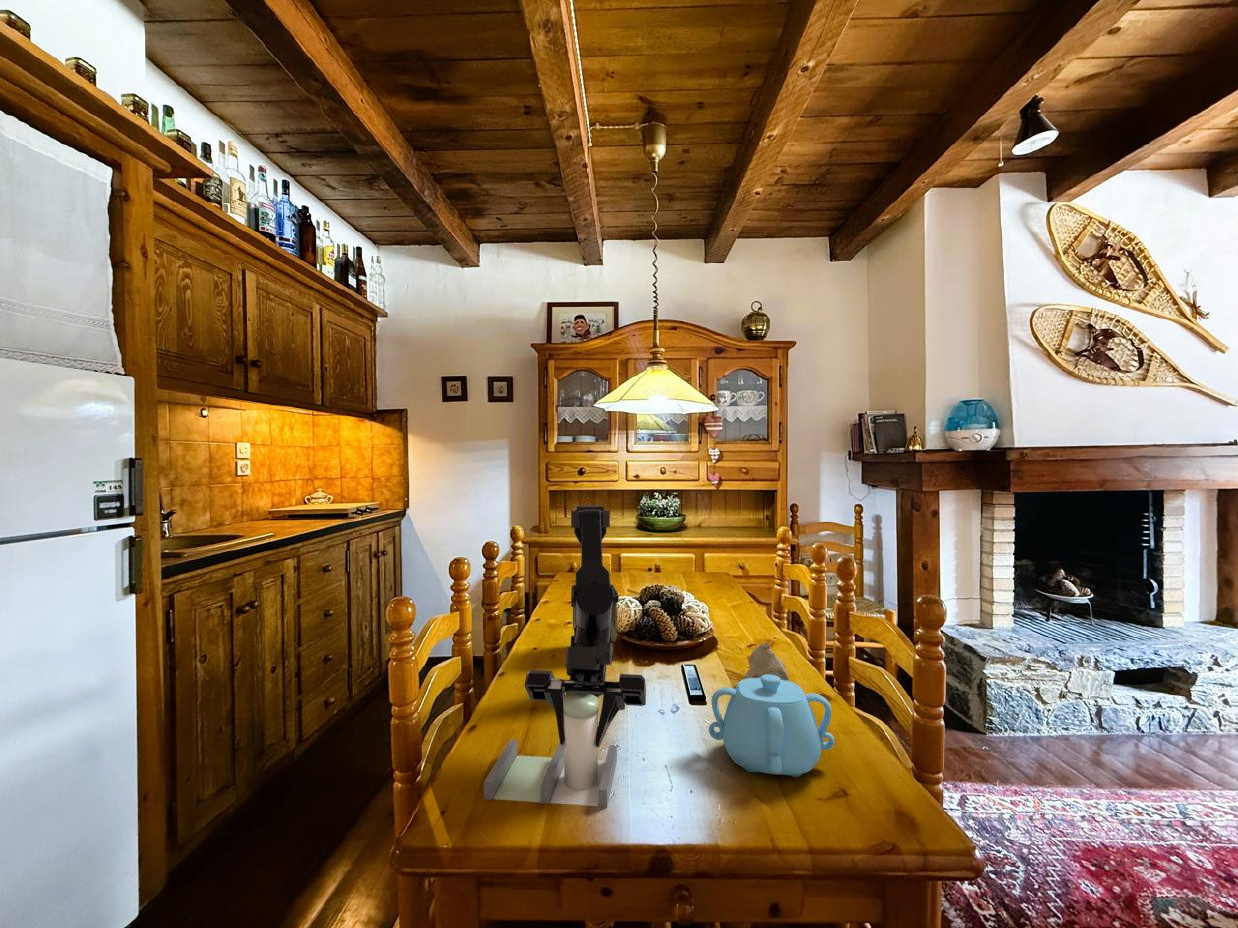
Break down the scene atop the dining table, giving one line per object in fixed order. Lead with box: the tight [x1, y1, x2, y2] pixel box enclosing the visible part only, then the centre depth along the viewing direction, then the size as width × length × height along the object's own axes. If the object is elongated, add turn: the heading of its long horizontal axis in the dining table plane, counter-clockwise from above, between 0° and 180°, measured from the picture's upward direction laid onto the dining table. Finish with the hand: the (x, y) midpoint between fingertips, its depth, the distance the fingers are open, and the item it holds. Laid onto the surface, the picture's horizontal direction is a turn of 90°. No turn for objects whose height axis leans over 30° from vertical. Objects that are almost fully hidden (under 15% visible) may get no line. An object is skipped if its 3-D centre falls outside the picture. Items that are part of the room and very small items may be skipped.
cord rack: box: [483, 739, 618, 809], centre depth 83 cm, size 12×18×4 cm
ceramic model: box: [744, 642, 790, 681], centre depth 119 cm, size 14×11×10 cm
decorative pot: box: [708, 675, 836, 778], centre depth 91 cm, size 20×20×14 cm
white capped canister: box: [563, 693, 599, 790], centre depth 83 cm, size 5×5×12 cm
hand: (579, 745), depth 81 cm, fingers closed on white capped canister, 5 cm apart
